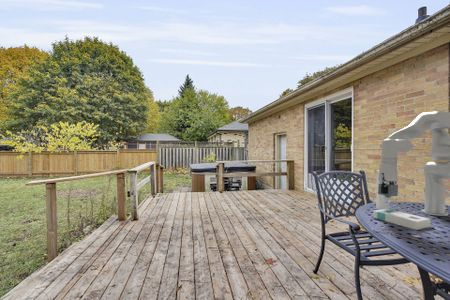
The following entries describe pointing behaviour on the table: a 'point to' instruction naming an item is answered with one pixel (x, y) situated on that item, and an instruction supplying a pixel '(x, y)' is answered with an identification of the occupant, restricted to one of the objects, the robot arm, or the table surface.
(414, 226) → the docking board
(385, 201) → the grey rectangular block
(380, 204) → the cylindrical container
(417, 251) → the table surface
